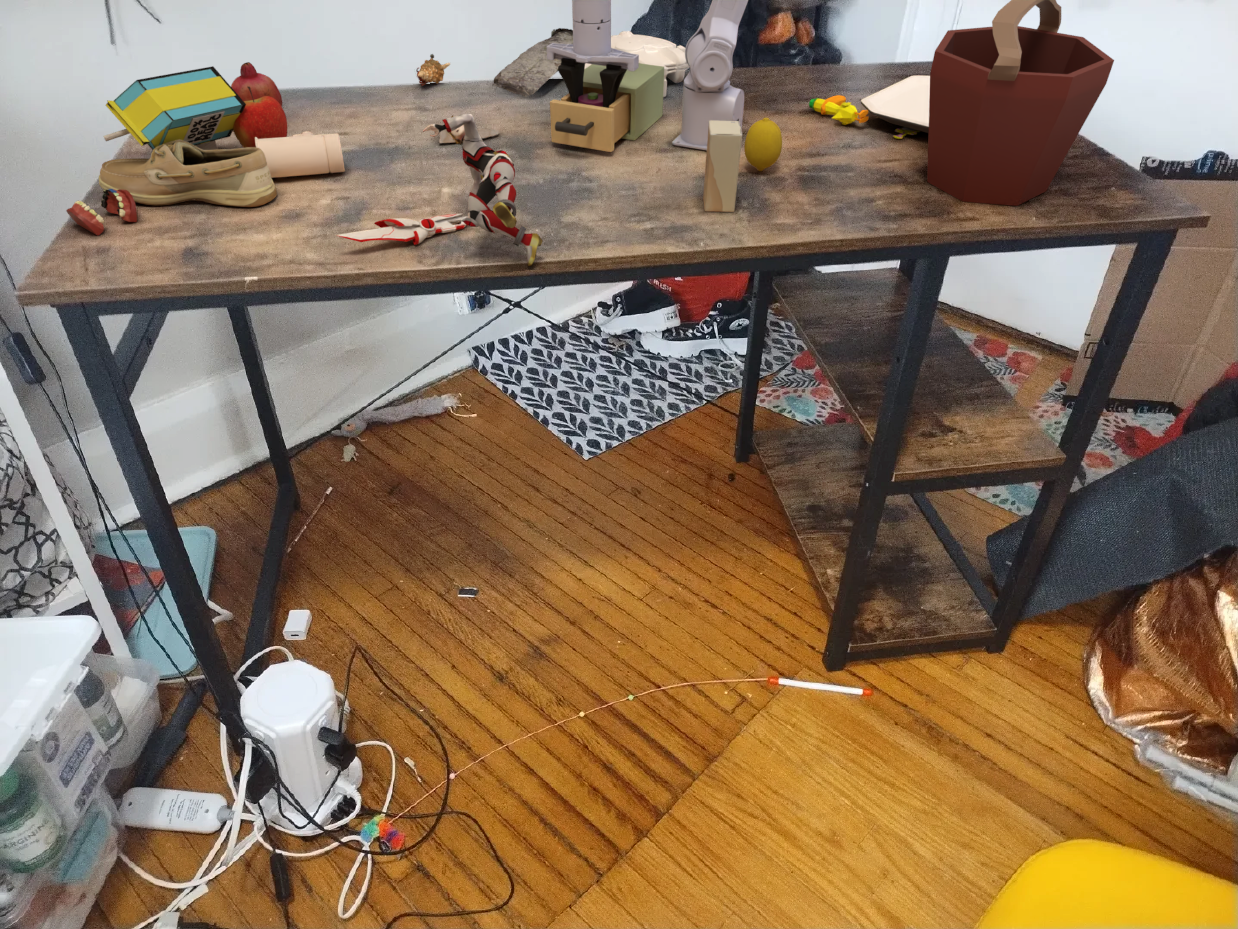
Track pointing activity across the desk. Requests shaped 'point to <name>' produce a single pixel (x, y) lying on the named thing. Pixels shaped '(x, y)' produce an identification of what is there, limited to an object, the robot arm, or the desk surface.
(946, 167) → the bucket
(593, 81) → the cabinet
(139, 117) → the carton
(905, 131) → the decorative knife
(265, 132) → the apple
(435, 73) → the figurine
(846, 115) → the toy figure
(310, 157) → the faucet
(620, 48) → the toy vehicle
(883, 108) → the plate
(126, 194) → the dental model
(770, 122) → the lemon
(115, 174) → the boat shoe
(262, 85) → the fruit
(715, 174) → the box
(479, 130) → the arrowhead
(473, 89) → the desk surface
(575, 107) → the drawer
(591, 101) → the mangosteen
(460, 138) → the anime character
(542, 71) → the stone
